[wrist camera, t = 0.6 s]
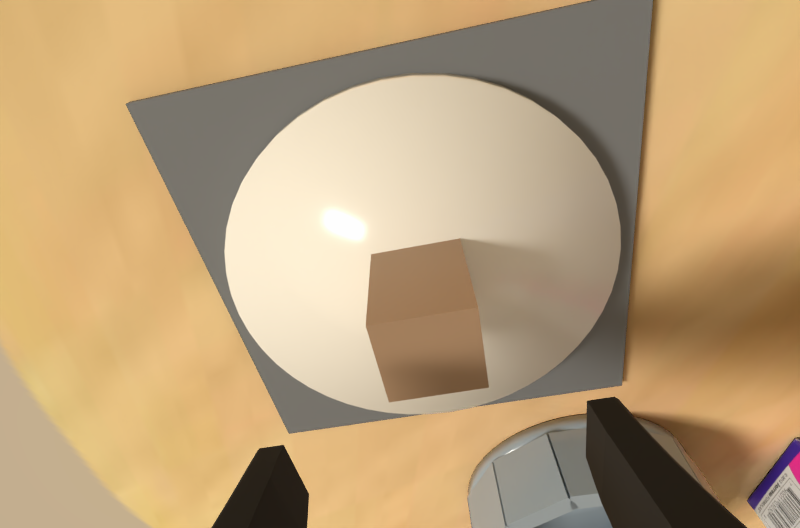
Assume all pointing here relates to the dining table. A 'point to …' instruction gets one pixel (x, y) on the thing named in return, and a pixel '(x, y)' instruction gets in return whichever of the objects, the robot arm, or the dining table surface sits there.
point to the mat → (443, 53)
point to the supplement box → (780, 492)
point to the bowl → (550, 478)
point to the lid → (422, 244)
